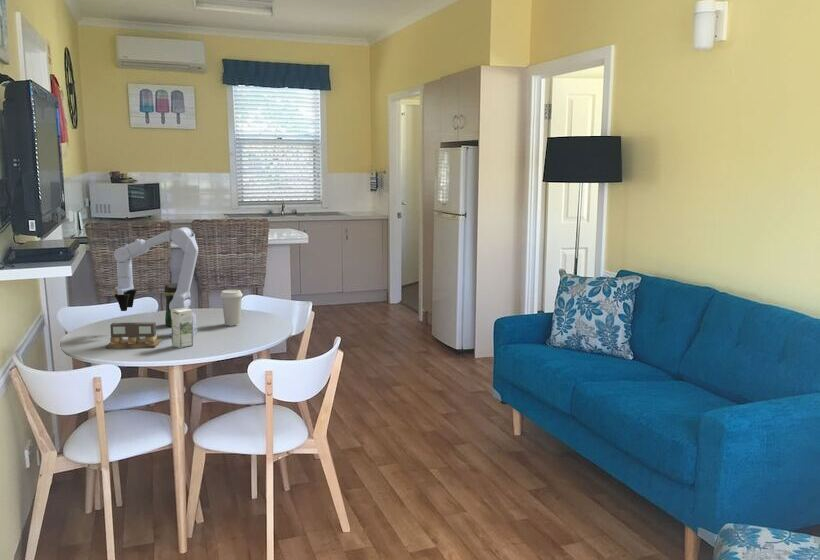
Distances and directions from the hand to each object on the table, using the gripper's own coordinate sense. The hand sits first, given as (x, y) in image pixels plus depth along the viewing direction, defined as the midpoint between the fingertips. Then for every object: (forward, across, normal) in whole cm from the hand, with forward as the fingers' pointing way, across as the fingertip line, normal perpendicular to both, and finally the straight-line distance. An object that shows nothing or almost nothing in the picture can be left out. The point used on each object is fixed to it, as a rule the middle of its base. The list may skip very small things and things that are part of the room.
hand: (126, 309), depth 282 cm
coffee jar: (+11, -16, +16) cm, 25 cm away
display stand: (+10, +19, +8) cm, 23 cm away
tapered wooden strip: (+7, +19, +8) cm, 22 cm away
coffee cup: (+11, -15, +40) cm, 44 cm away
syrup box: (+11, +22, +27) cm, 36 cm away
